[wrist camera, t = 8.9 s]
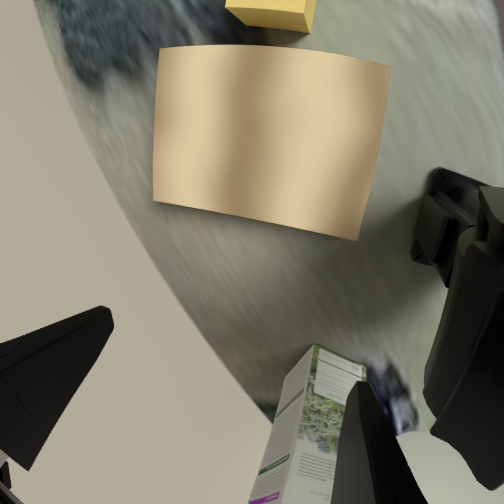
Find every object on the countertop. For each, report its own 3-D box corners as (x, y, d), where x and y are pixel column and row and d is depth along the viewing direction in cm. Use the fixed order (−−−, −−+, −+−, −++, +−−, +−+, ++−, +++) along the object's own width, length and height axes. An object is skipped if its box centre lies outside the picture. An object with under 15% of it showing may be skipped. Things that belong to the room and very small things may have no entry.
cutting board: (383, 72, 13) (390, 66, 11) (354, 225, 18) (356, 241, 16) (179, 54, 16) (159, 48, 14) (171, 190, 21) (153, 200, 18)
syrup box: (283, 376, 26) (240, 515, 14) (314, 339, 23) (277, 509, 11) (333, 396, 26) (309, 531, 14) (369, 363, 23) (360, 522, 11)
